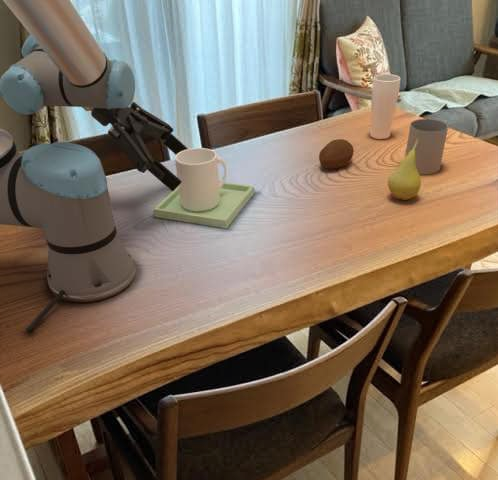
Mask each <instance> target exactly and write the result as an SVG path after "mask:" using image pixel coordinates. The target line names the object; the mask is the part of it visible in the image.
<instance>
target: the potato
mask: <svg viewBox="0 0 498 480" xmlns="http://www.w3.org/2000/svg"><path fill="white" fill-rule="evenodd" d="M354 149H355V148H354V146H353V144H352V143H351V142H349V140H347V139H343V138H339V139H332V140H331V141H330V142H328V143H326V144H325V146H324V147H323V148H322V149H321V150H320V152H319V154H318V160H319V164H320V166H321V167H323V168H324V169H330V170H333V169H338V168H340V167H344V166H347V165H349V163H350V162H351V161H352V158H353V157H354V152H355V150H354Z"/></svg>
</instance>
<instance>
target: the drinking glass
mask: <svg viewBox="0 0 498 480" xmlns="http://www.w3.org/2000/svg"><path fill="white" fill-rule="evenodd" d="M400 87H401V77H400V76H399V75H398V74H397V75H396V74H391V73H381V74H380V73H379V74H377V75H374V76H373V80H372V87H371V105H370V106H371V108H370V131H369V136H370V137H371V138H373V139H375V140H386V139H388V138H390V136H391V133H392V132H391V131H392V126H393V122H394V117H395V113H396V108H397V103H398V99H399V94H400Z"/></svg>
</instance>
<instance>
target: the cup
mask: <svg viewBox="0 0 498 480" xmlns="http://www.w3.org/2000/svg"><path fill="white" fill-rule="evenodd" d="M448 130H449V125H448V124H447V123H446V122H445V121H442V120H438V119H432V118H420V119H415V120H413V121H411V122H410V124H409V130H408V135H407V136H408V137H407V142H406V148H405V149H406V150H405V154H404V155H405V156H404V158H405V157H406V156H407V155H408V153H409V152H410V151H411V150H412V149H413V147H414V145H415V142H416V138H418V143H417V145H416V147H415V150H414V151H415V165H416V169H417V171H418V173H419V175H432V174H436V173H438V172H439V171H440V169H441V165H442V161H443V160H442V159H443V155H444V151H445V145H446V140H447V135H448Z"/></svg>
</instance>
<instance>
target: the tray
mask: <svg viewBox="0 0 498 480" xmlns="http://www.w3.org/2000/svg"><path fill="white" fill-rule="evenodd" d="M220 181H221V180H219V182H220ZM219 192H220V201H219V204H218V205H217V206H216V207H215V208H213V209H211V210H208V211H202V212H195V211H189V210H187V209H185V208H184V207H183V206H182V205H181V202H180V195H179V187H177V188H176V189H175V190H174V191H171V192H170V193H169V194H168V195H167V196H166V197H165V198H164V199H162V201H160V203H159V204H158V205H156V206H155V207H154V208H153V209H152V210H153V215H154V218H160V219H166V220H171V221H179V222H185V223H190V224H196V225H201V226H202V225H203V226H208V227H214V228H215V227H216V228H220V229H221V228H222V229H227V228H228V227H229V226H231V223H233V221H234V220H235V219H236V217H237V216H238V214H240V212H241V211H242V210H243V209H244V207H245V206H246V205H247V204H248V202H249V201H250V200H251V199H252V197H253V196H254V195H255V185H250V184H242V183H234V182H227V181H225V182H224V184H223V186H222V188H221V189H220V190H219Z"/></svg>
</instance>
